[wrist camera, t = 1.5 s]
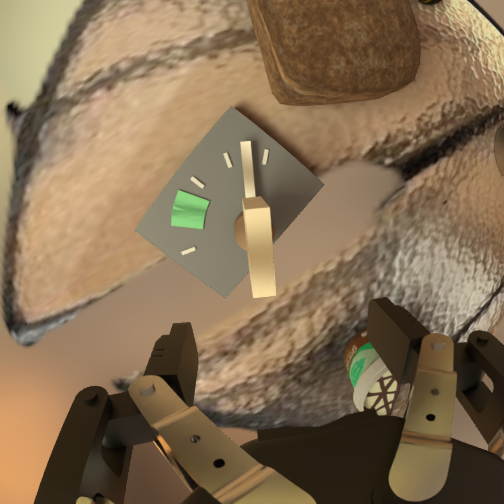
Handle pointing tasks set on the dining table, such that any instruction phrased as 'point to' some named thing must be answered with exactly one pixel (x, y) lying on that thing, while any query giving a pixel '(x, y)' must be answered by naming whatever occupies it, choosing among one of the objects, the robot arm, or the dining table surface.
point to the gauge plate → (224, 201)
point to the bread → (336, 48)
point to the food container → (370, 376)
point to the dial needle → (256, 232)
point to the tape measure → (430, 1)
